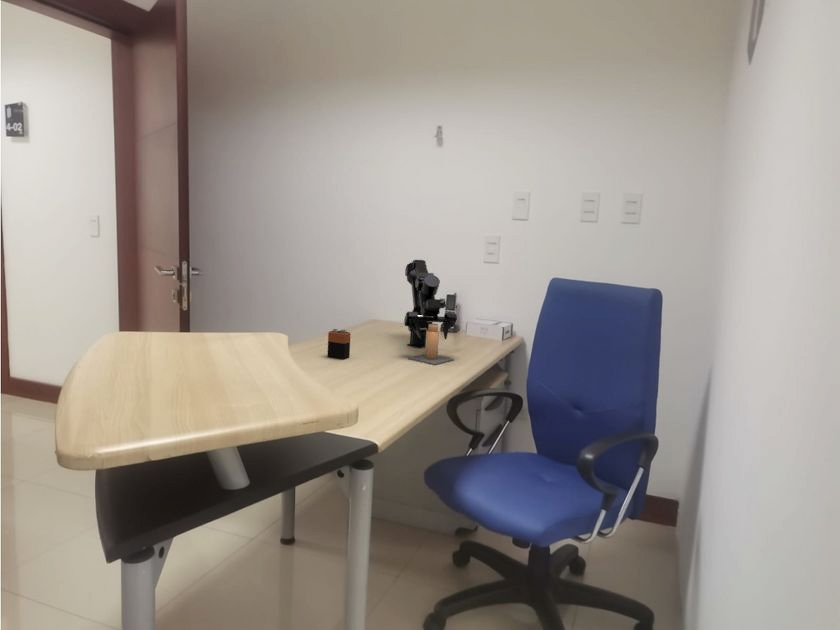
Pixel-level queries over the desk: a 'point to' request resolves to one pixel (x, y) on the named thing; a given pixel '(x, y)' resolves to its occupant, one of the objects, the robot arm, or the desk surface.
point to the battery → (339, 344)
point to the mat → (434, 362)
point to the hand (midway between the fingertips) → (433, 338)
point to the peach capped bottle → (432, 342)
